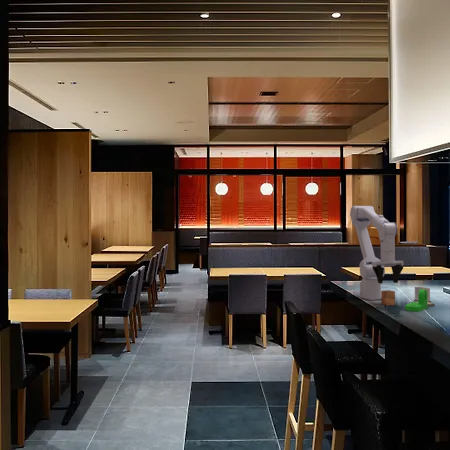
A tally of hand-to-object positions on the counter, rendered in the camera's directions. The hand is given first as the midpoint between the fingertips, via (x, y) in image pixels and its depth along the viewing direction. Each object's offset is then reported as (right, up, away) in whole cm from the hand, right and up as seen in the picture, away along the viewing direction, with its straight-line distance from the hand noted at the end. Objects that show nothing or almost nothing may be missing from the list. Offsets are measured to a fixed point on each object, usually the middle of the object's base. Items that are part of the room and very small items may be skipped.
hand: (387, 283), depth 216 cm
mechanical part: (+8, -10, -10) cm, 16 cm away
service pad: (+14, -9, -1) cm, 17 cm away
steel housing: (+17, -9, +7) cm, 21 cm away
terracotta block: (0, -9, 0) cm, 9 cm away
